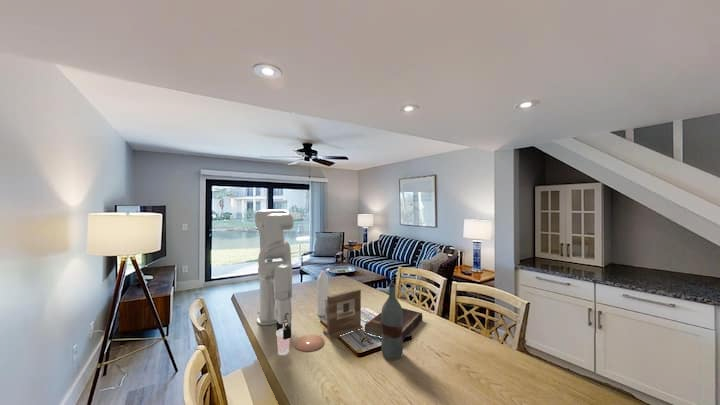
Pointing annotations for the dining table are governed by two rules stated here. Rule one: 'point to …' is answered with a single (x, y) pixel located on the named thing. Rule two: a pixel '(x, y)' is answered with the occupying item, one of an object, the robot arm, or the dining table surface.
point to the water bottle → (322, 292)
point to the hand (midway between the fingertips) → (283, 333)
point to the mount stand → (342, 313)
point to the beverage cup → (282, 343)
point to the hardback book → (409, 323)
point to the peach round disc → (309, 343)
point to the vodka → (392, 327)
